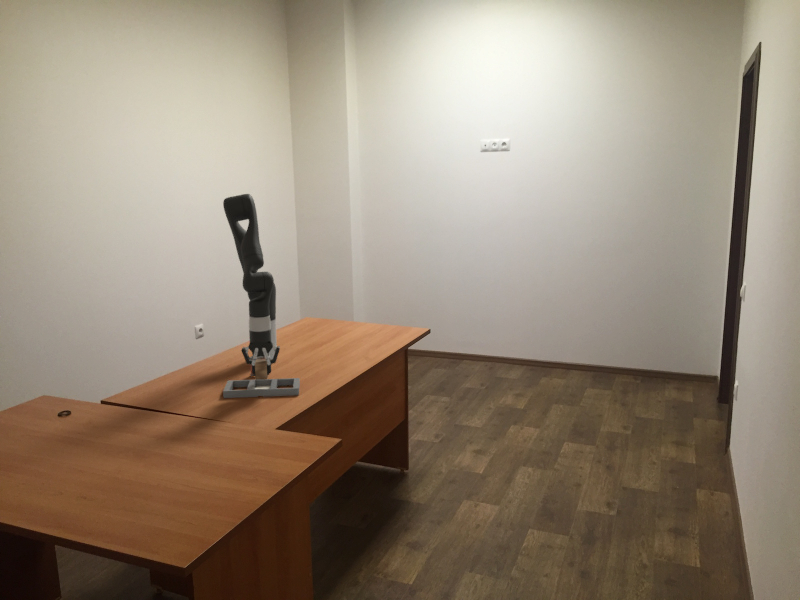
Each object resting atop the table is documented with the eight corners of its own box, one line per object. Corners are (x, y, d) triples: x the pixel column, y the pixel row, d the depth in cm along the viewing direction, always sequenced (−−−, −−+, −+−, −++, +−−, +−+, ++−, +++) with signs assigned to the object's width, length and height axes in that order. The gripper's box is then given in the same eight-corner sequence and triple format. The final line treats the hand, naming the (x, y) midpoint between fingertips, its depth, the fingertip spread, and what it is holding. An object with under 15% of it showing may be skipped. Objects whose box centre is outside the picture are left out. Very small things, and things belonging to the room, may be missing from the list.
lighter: (254, 377, 245) (253, 352, 243) (248, 375, 247) (247, 350, 245) (270, 372, 252) (269, 347, 250) (264, 370, 254) (263, 346, 252)
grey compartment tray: (228, 387, 235) (227, 380, 234) (299, 384, 238) (299, 377, 237) (223, 398, 223) (223, 391, 223) (298, 395, 226) (298, 388, 226)
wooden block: (255, 379, 227) (254, 363, 226) (256, 375, 232) (256, 359, 230) (267, 379, 227) (266, 363, 226) (268, 375, 232) (267, 359, 231)
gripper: (238, 331, 221) (240, 378, 225) (279, 330, 223) (281, 377, 226) (240, 326, 229) (242, 372, 232) (281, 325, 230) (282, 370, 234)
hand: (261, 374), depth 229 cm, fingers closed on wooden block, 4 cm apart
